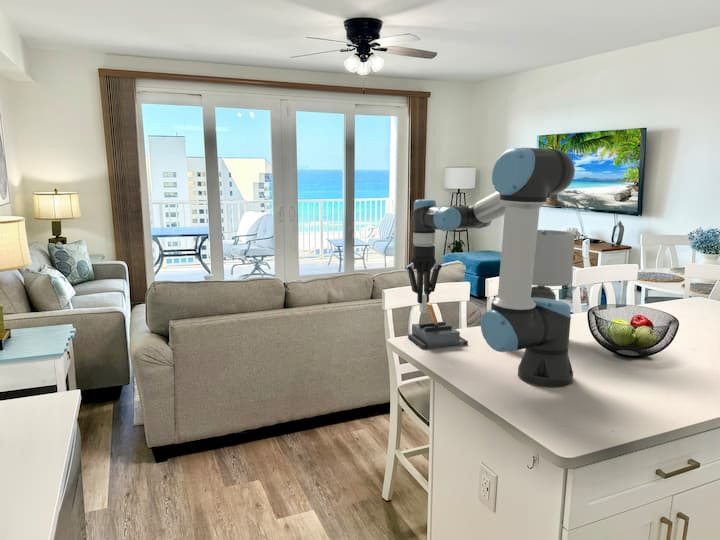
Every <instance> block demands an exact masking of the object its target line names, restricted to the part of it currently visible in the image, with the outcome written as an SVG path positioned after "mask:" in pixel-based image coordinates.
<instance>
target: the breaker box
mask: <svg viewBox="0 0 720 540" xmlns="http://www.w3.org/2000/svg"><path fill="white" fill-rule="evenodd" d="M437 322H438V324H439V326H435V325H433V324H432V322H425V323H423V322H422V323H412V324H411V334H412V335H413V336H415V337H416V338H417V339H419V340H420V341H422V342H423V343H424V344H426V349H427V350H431V349H442V348H451V347H460V346H459V341H460V337H461V336H460V335H461V332H460V331H459V330H457V329H455V328H454V327H453V325H451V324H447V323H446V321H437Z"/></svg>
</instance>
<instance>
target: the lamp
mask: <svg viewBox="0 0 720 540" xmlns="http://www.w3.org/2000/svg"><path fill="white" fill-rule="evenodd" d="M575 239H576V233H575V232H572V231H566V230H553V229H550V230H549V229H537V239H536V249H535V259H534V270H533V280H532V290H531V298H532V297H537V298H546V299H553V300H557V295H556V294H555V292H553V291H552V288H551V287H560V286H561V287H563V286H568V285H571V284H572V281H573V269H574V267H573V266H574V254H575V253H574V252H575Z"/></svg>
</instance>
